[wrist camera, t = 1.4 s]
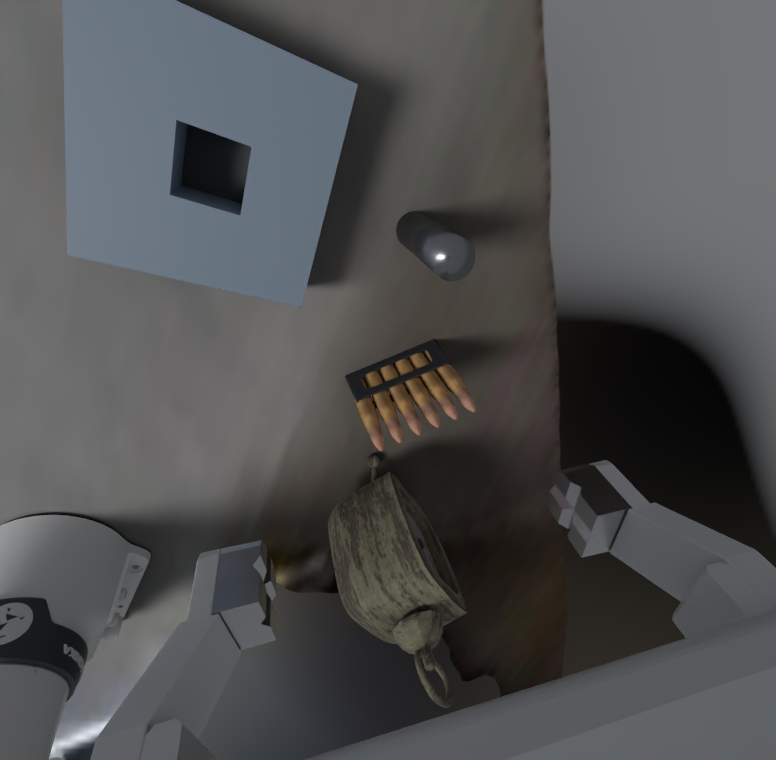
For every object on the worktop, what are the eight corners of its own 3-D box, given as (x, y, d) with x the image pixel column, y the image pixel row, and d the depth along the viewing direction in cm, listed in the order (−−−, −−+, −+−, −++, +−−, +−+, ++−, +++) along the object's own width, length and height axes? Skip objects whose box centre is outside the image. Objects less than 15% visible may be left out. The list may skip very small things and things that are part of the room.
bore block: (296, 287, 38) (301, 307, 34) (92, 237, 32) (67, 254, 28) (345, 89, 31) (358, 84, 27) (94, -24, 25) (61, -53, 21)
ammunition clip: (434, 338, 45) (483, 399, 35) (438, 352, 46) (486, 415, 36) (344, 375, 44) (368, 447, 34) (350, 388, 45) (375, 462, 36)
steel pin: (421, 251, 39) (464, 285, 31) (391, 241, 38) (427, 275, 30) (434, 217, 38) (482, 244, 30) (403, 206, 36) (444, 231, 28)
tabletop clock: (423, 499, 59) (508, 701, 38) (369, 530, 59) (426, 745, 39) (376, 440, 50) (454, 658, 30) (314, 476, 51) (350, 715, 31)
